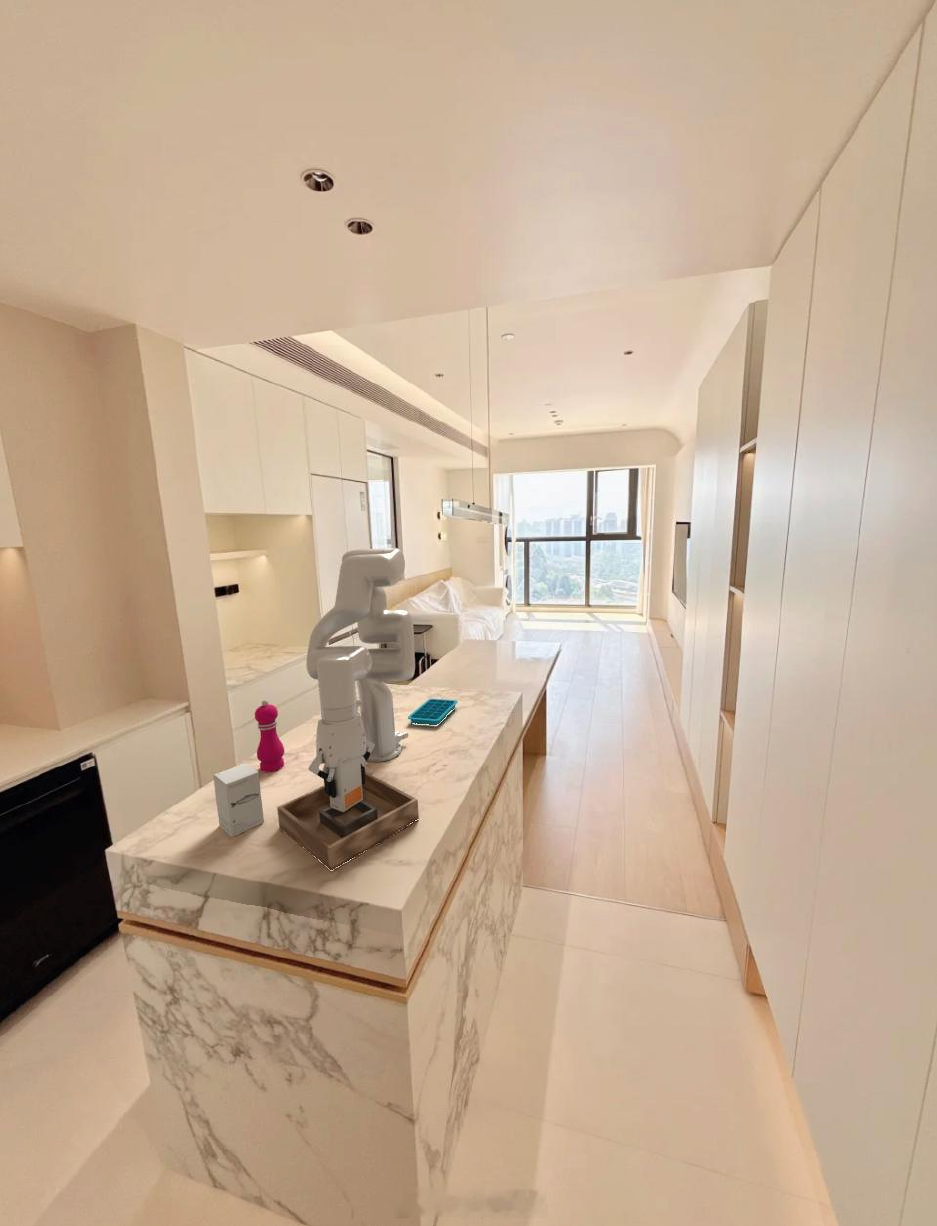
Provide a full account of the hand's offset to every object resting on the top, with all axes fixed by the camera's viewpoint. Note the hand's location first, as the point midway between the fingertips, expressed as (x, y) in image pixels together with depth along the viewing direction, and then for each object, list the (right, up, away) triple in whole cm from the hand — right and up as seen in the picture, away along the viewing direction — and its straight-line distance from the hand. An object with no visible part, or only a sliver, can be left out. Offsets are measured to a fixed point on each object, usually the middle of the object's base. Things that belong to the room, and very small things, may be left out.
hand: (346, 788), depth 105 cm
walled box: (0, -9, +1) cm, 9 cm away
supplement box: (-24, -10, +3) cm, 26 cm away
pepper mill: (-29, -5, +30) cm, 42 cm away
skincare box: (0, -4, +1) cm, 4 cm away
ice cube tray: (+15, +2, +64) cm, 66 cm away
